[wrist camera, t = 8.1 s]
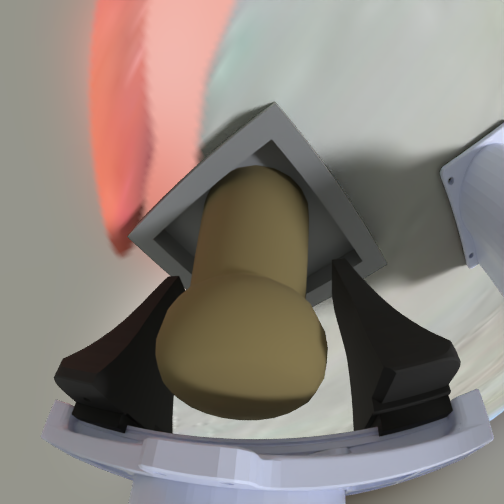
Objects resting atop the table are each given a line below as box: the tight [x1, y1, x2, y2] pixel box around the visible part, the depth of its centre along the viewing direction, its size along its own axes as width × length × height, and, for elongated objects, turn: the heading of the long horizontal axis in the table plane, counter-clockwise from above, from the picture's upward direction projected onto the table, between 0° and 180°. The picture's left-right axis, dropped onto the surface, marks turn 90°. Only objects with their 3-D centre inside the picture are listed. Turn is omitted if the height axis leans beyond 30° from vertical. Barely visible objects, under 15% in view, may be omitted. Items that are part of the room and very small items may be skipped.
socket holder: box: [127, 102, 387, 307], centre depth 16 cm, size 11×11×2 cm
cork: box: [155, 165, 328, 420], centre depth 11 cm, size 6×6×11 cm
